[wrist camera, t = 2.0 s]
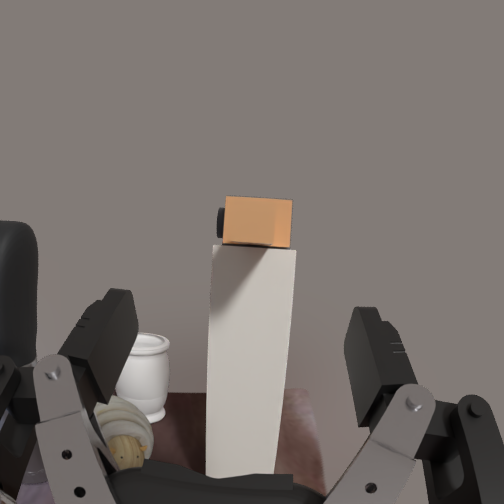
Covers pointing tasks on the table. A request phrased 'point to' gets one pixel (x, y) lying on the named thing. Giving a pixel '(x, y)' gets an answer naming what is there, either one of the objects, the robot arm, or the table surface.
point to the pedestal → (247, 354)
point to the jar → (146, 376)
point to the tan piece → (257, 221)
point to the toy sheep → (125, 432)
